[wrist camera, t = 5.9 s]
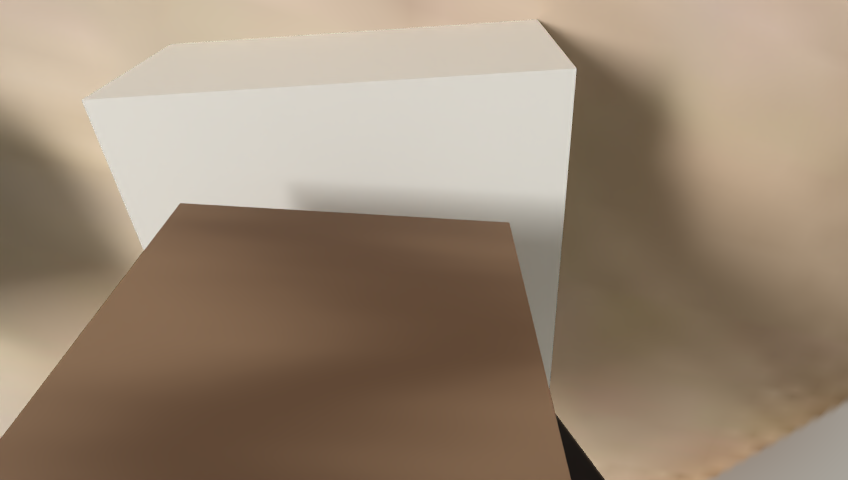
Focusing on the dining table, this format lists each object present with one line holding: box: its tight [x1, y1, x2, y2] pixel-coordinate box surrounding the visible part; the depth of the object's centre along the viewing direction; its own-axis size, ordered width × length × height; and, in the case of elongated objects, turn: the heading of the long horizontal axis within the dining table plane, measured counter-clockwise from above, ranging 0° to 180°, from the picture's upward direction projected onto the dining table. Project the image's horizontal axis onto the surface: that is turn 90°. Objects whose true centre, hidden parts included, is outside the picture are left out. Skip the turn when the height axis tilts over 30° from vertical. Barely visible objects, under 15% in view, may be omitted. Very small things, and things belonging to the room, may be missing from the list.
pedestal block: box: [82, 19, 577, 389], centre depth 13 cm, size 8×8×4 cm
